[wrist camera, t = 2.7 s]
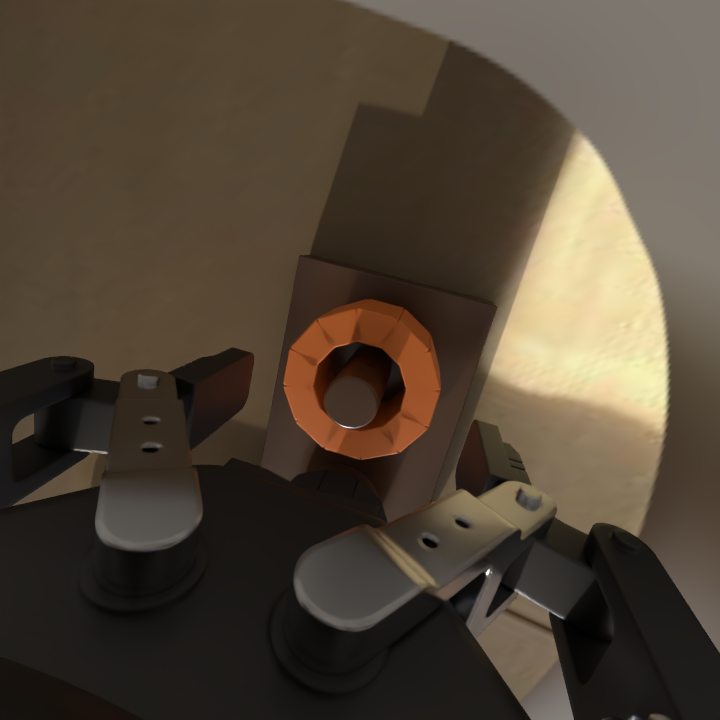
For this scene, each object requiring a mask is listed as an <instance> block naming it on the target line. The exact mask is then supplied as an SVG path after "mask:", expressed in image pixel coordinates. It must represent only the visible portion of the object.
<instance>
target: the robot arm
mask: <svg viewBox="0 0 720 720" xmlns="http://www.w3.org/2000/svg"><path fill="white" fill-rule="evenodd" d="M253 364H254V355H253V353H250V352H247V351H243V350H240V349H237V348H230V349H228V350H226V351H224V352H221V353H219V354H217V355H215V356H208V357H202V358H199V359H197V360H195V361H193V362H192V363H188V364H186V365H185V366H182V367H179V368H177V369H175V370H173V371H171V372H168V373H166V372H163V371H158V370H150V369H143V370H134V371H130V372H127V373H125V374H123V375H122V377H121V381H120V382H116V381H109V380H102V379H95V378H94V364H93V363H92V362H90V361H88V360H85V359H82V358H77V357H69V356H58V357H49V358H44V359H40V360H37V361H34V362H31V363H27V364H24V365H21V366H18V367H14V368H11V369H8V370H5V371H1V372H0V720H531V719H530V718H529V716H528V715H527V713H526V712H525V710H524V709H523V707H522V706H521V705H520V703H519V702H518V700H517V699H516V697H515V696H514V694H513V693H512V691H511V690H510V688H509V687H508V685H507V684H506V683H505V681H504V680H503V678H502V677H501V675H500V674H499V672H498V671H497V669H496V668H495V667H494V665H493V664H492V662H491V661H490V659H489V658H488V656H487V655H486V653H485V652H484V651H483V649H482V648H481V646H480V645H479V643H478V642H477V640H476V639H477V638H478V636H479V635H480V634H481V633H482V632H483V631H484V630H485V629H486V628H487V627H488V626H489V625H490V624H491V623H492V622H493V621H494V620H495V619H496V618H497V617H498V616H499V615H500V614H501V613H502V612H503V611H504V610H505V609H506V608H507V607H508V606H509V605H510V604H511V603H512V602H513V601H514V600H515V599H516V598H517V596H518V594H521V595H523V596H524V597H526V598H528V599H529V600H531V601H533V602H534V603H536V604H538V605H539V606H541V607H543V608H544V609H546V610H548V611H549V617H550V622H551V626H552V630H553V635H554V639H555V643H556V647H557V651H558V655H559V659H560V663H561V667H562V671H563V676H564V680H565V684H566V688H567V692H568V696H569V700H570V705H571V709H572V712H573V717H574V720H720V653H719V652H718V650H717V649H716V647H715V646H714V644H713V642H712V641H711V639H710V638H709V636H708V635H707V633H706V632H705V630H704V629H703V627H702V626H701V624H700V622H699V621H698V619H697V618H696V616H695V615H694V613H693V612H692V610H691V609H690V607H689V605H688V604H687V602H686V601H685V599H684V598H683V596H682V595H681V593H680V592H679V590H678V589H677V587H676V585H675V584H674V582H673V581H672V579H671V578H670V576H669V575H668V573H667V572H666V570H665V569H664V567H663V566H662V564H661V562H660V561H659V560H658V558H657V557H656V555H655V553H654V552H653V551H652V550H651V549H650V548H649V547H648V546H647V545H646V544H645V543H644V542H642V541H641V540H640V539H638V538H637V537H636V536H634V535H632V534H631V533H629V532H627V531H625V530H623V529H621V528H619V527H617V526H614V525H611V524H607V523H596V524H594V525H593V527H592V528H591V530H590V532H589V534H588V535H587V534H585V533H583V532H581V531H579V530H577V529H575V528H573V527H571V526H569V525H567V524H565V523H563V522H561V521H560V520H558V519H557V518H555V515H556V513H557V508H556V505H555V504H554V502H553V501H552V500H551V499H550V498H549V497H548V496H547V495H546V494H544V493H543V492H541V491H540V490H538V489H536V488H535V487H533V486H532V485H531V482H530V480H529V477H528V475H527V472H526V471H525V467H524V465H523V464H522V460H521V458H520V455H519V453H518V452H517V451H516V450H515V449H514V448H513V447H512V446H511V445H510V444H507V443H504V442H503V441H502V438H501V435H500V433H499V430H498V427H497V426H496V425H493V424H489V423H486V422H482V421H479V420H474V421H473V423H472V425H471V427H470V430H469V433H468V436H467V438H466V441H465V444H464V447H463V450H462V452H461V455H460V458H459V461H458V464H457V469H456V476H455V478H456V491H455V492H452V493H450V494H448V495H446V496H444V497H442V498H440V499H438V500H436V501H434V502H432V503H429V504H427V505H425V506H423V507H421V508H419V509H417V510H415V511H413V512H411V513H408V514H406V515H404V516H402V517H400V518H398V519H396V520H394V521H392V522H390V523H386V522H385V521H383V520H382V519H380V518H378V517H377V516H378V511H379V507H380V506H378V505H375V504H372V503H369V502H366V501H363V500H360V499H357V498H354V497H351V496H347V495H344V494H340V493H334V492H328V491H321V490H315V489H308V488H303V487H300V486H297V485H296V484H294V483H292V482H290V481H288V480H286V479H284V478H283V477H281V476H279V475H277V474H275V473H273V472H272V471H270V470H268V469H265V468H262V467H259V466H256V465H253V464H250V463H247V462H244V461H241V460H238V459H235V458H231V459H230V460H229V461H228V462H227V463H226V464H225V465H224V466H219V465H192V459H191V452H190V451H191V450H192V449H193V448H195V447H196V446H197V445H198V444H200V443H201V442H202V441H203V440H205V439H206V438H207V437H208V436H209V435H211V434H212V433H213V432H214V431H216V430H217V429H218V428H219V427H221V426H222V425H223V424H224V423H226V422H227V421H228V420H229V419H230V418H232V417H233V416H234V415H235V414H237V413H238V412H239V411H240V410H241V409H242V408H243V407H244V405H245V403H246V401H247V398H248V394H249V388H250V382H251V376H252V370H253ZM33 413H34V434H33V435H31V436H29V437H27V438H25V439H23V440H21V441H19V442H17V443H15V444H13V445H12V433H13V430H14V428H15V426H16V425H17V423H18V422H19V421H20V420H21V419H23V418H24V417H26V416H28V415H30V414H33ZM90 452H92V453H101V454H107V458H106V465H105V471H104V473H103V474H102V479H101V485H100V486H98V487H93V488H89V489H85V490H80V491H76V492H72V493H67V494H63V495H59V496H55V497H50V498H46V499H42V500H37V501H33V502H29V503H24V504H20V505H16V506H12V505H13V504H15V503H16V502H18V501H19V500H21V499H23V498H24V497H26V496H27V495H29V494H30V493H32V492H33V491H35V490H36V489H38V488H39V487H41V486H43V485H44V484H46V483H47V482H49V481H50V480H52V479H53V478H55V477H56V476H58V475H59V474H61V473H62V472H64V471H66V470H67V469H69V468H70V467H72V466H73V465H75V464H76V463H78V462H79V461H81V460H82V459H84V458H85V457H87V456H88V455H89V454H90ZM10 506H11V507H10Z"/></svg>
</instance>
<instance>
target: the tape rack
mask: <svg viewBox="0 0 720 720" xmlns="http://www.w3.org/2000/svg"><path fill="white" fill-rule="evenodd" d="M365 299H368V300H369V299H373V300H376V301H380V302H384V303H388V304H392V305H395V306H399V307H403V308H404V309H406V310H407V311H408V312H409V313H410V314H411V315H412V316H413V317H414V318H415V319H416V320H417V321H418V322H419V323H420V324H421V325H422V326H423V327H424V328H425V329H426V330H427V331H428V332H429V333H430V335H431V336H432V340H433V344H434V348H435V352H436V355H437V359H438V363H439V367H440V385H441V389H440V395H439V398H438V401H437V405H436V408H435V411H434V414H433V417H432V420H431V423H430V425H429V426H428V429H427V430H426V431H425V432H424V433H423V434H422V435H420V436H419V437H418V438H417V439H416V440H414V441H413V442H412V443H411V444H410V445H408V446H407V447H406V448H405V449H404V450H403V451H401V452H399V451H398V453H397V454H391V455H386V456H380V457H375V458H369V459H364V460H362V459H356V458H353V457H349V456H346V455H343V454H340V453H336V452H333V451H330V450H327V449H325V447H321V446H320V445H319V444H318V443H317V442H316V441H315V440H314V439H313V438H312V437H311V436H310V435H309V434H308V433H307V432H306V431H305V430H304V429H302V428H301V427H300V426H299V425H298V424H297V423H296V421H297V420H295V419H294V416H293V413H292V410H291V407H290V404H289V401H288V398H287V396H286V393H285V390H284V384H283V382H284V376H285V371H286V366H287V361H288V355H289V350H290V348H292V347H291V346H292V344H293V343H294V342H295V341H296V340H297V339H298V338H299V337H300V336H301V335H302V334H303V333H304V331H305V330H306V329H307V328H308V327H309V326H310V325H311V324H312V323H313V322H314V321H315V320H316V319H318V318H319V317H321V316H323V315H324V314H326V313H328V312H329V311H331V310H333V309H335V308H336V307H340V306H344V305H347V304H351V303H354V302H358V301H361V300H365ZM496 309H497V306H496V305H495V304H494V303H493V302H490V301H486V300H482V299H478V298H474V297H470V296H467V295H463V294H459V293H455V292H451V291H447V290H443V289H439V288H435V287H432V286H428V285H424V284H420V283H416V282H412V281H408V280H404V279H400V278H397V277H393V276H389V275H385V274H381V273H377V272H373V271H369V270H366V269H362V268H358V267H354V266H350V265H346V264H342V263H338V262H334V261H331V260H327V259H323V258H319V257H315V256H311V255H300V256H299V261H298V266H297V272H296V277H295V282H294V288H293V293H292V299H291V304H290V310H289V315H288V320H287V326H286V331H285V337H284V342H283V348H282V353H281V358H280V364H279V369H278V375H277V380H276V386H275V391H274V396H273V402H272V407H271V413H270V418H269V424H268V429H267V434H266V440H265V445H264V451H263V456H262V462H261V467H262V468H265V469H268V470H270V471H272V472H273V473H275V474H277V475H279V476H281V477H283V478H284V479H286V480H288V481H291V480H292V479H293V478H294V477H295V476H296V475H299V474H301V473H307V472H312V471H318V470H323V469H327V470H328V469H329V470H333V471H336V472H339V473H342V474H345V475H349V476H352V477H355V478H357V480H360V481H361V482H362V483H363V484H364V485H365V486H366V487H367V488H368V489H369V490H371V491H372V492H373V493H374V494H375V495H376V496H377V497H378V498H379V499H380V502H382V505H383V508H384V511H385V515H386V518H387V521H388V523H390V522H392V521H394V520H396V519H398V518H400V517H402V516H404V515H406V514H408V513H411V512H413V511H415V510H417V509H419V508H421V507H423V506H425V505H427V504H429V503H430V502H431V499H432V496H433V493H434V490H435V487H436V484H437V481H438V478H439V475H440V472H441V469H442V467H443V464H444V461H445V458H446V455H447V452H448V449H449V446H450V443H451V440H452V437H453V435H454V432H455V429H456V426H457V423H458V420H459V417H460V414H461V411H462V408H463V405H464V403H465V400H466V397H467V394H468V391H469V388H470V385H471V382H472V379H473V376H474V373H475V371H476V368H477V365H478V362H479V359H480V356H481V353H482V350H483V347H484V344H485V341H486V339H487V336H488V333H489V330H490V327H491V324H492V321H493V318H494V315H495V312H496ZM331 367H332V371H333V374H334V377H335V378H334V380H333V381H332V382H331V384H330V385H329V386H328V388H327V390H326V392H325V395H324V405H325V409H326V411H327V413H328V415H329V416H330V418H331V419H332V420H333V421H334V422H336V423H337V424H339V425H341V426H343V427H346V428H360V427H363V426H365V425H367V424H369V423H370V422H371V421H372V420H373V419H374V417H375V416H376V414H377V411H378V408H379V405H380V403H381V402H386V401H390V400H391V399H392V398H393V397H395V396H396V395H397V394H398V393H399V392H400V391H401V390H402V389H403V388H405V383H404V380H403V376H402V373H401V369H400V366H399V365H398V364H397V363H396V362H395V361H394V360H393V359H392V358H391V357H390V356H389V355H388V354H387V353H386V352H385V351H384V350H383V349H382V348H378V347H375V346H371V345H367V344H364V343H360V342H355V343H351V344H347V345H343V346H339V347H336V348H335V352H334V357H333V361H332V365H331Z"/></svg>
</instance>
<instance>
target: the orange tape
mask: <svg viewBox="0 0 720 720" xmlns="http://www.w3.org/2000/svg"><path fill="white" fill-rule="evenodd" d="M355 342H360V343H364V344H367V345H371V346H375V347H378V348H382V349H383V350H384V351H385V352H386V353H387V354H388V355H389V356H390V357H391V358H392V359H393V360H394V361H395V362H396V363H397V364H398V365H399V366H400V369H401V373H402V376H403V380H404V383H405V388H403V389H402V390H401V391H400V392H399V393H398V394H397V395H396V396H395V397H393V398H392V399H391V400H390V401H386V402H381V403H380V405H379V408H378V411H377V414H376V416H375V417H374V419H373V420H372V421H371V422H370V423H369V424H367V425H365V426H363V427H360V428H346V427H343V426H341V425H339V424H337V423H336V422H334V421H333V420H332V419H331V418H330V416H329V415H328V413H327V411H326V409H325V405H324V395H325V392H326V390H327V388H328V386H329V385H330V384H331V382H332V381H333V380H334V378H335V377H334V374H333V371H332V367H331V365H332V361H333V357H334V352H335V348H336V347H339V346H343V345H347V344H351V343H355ZM291 347H292V348H290V350H289V355H288V361H287V366H286V371H285V376H284V382H283V384H284V390H285V393H286V396H287V398H288V401H289V404H290V407H291V410H292V413H293V416H294V419H295V420H297V421H296V423H297V424H298V425H299V426H300V427H301V428H302V429H304V430H305V431H306V432H307V433H308V434H309V435H310V436H311V437H312V438H313V439H314V440H315V441H316V442H317V443H318V444H319V445H320V446H321V447H325V449H327V450H330V451H333V452H336V453H340V454H343V455H346V456H349V457H353V458H356V459H362V460H364V459H369V458H375V457H380V456H386V455H391V454H397V453H398V451H399V452H401V451H403V450H404V449H405V448H406V447H407V446H408V445H410V444H411V443H412V442H413V441H414V440H416V439H417V438H418V437H419V436H420V435H422V434H423V433H424V432H425V431H426V430H427V429H428V426H429V425H430V423H431V420H432V417H433V414H434V411H435V408H436V405H437V401H438V398H439V395H440V389H441V385H440V367H439V363H438V359H437V355H436V352H435V348H434V344H433V340H432V336H431V335H430V333H429V332H428V331H427V330H426V329H425V328H424V327H423V326H422V325H421V324H420V323H419V322H418V321H417V320H416V319H415V318H414V317H413V316H412V315H411V314H410V313H409V312H408V311H407V310H406V309H404V308H403V307H399V306H395V305H392V304H388V303H384V302H380V301H376V300H373V299H369V300H368V299H365V300H361V301H358V302H354V303H351V304H347V305H344V306H340V307H336V308H335V309H333V310H331V311H329V312H328V313H326V314H324V315H323V316H321V317H319V318H318V319H316V320H315V321H314V322H313V323H312V324H311V325H310V326H309V327H308V328H307V329H306V330H305V331H304V333H303V334H302V335H301V336H300V337H299V338H298V339H297V340H296V341H295V342H294V343H293V344H292V346H291Z"/></svg>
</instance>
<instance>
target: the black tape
mask: <svg viewBox="0 0 720 720" xmlns="http://www.w3.org/2000/svg"><path fill="white" fill-rule="evenodd" d="M290 482H292V483H294V484H296V485H297V486H300V487H303V488H308V489H315V490H321V491H328V492H334V493H340V494H344V495H347V496H351V497H354V498H357V499H360V500H363V501H366V502H369V503H372V504H375V505H378V506H380V507H379V511H378V516H377V517H378V518H380V519H382V520H383V521H385V522H386V523H388V521H387V518H386V515H385V511H384V508H383V505H382V502H380V499H379V498H378V497H377V496H376V495H375V494H374V493H373V492H372V491H371V490H369V489H368V488H367V487H366V486H365V485H364V484H363V483H362V482H361V481H360V480H357V478H355V477H352V476H349V475H345V474H342V473H339V472H336V471H333V470H329V469H328V470H327V469H323V470H318V471H312V472H307V473H301V474H299V475H296V476H295V477H294V478H293V479H292V480H291V481H290Z"/></svg>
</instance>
